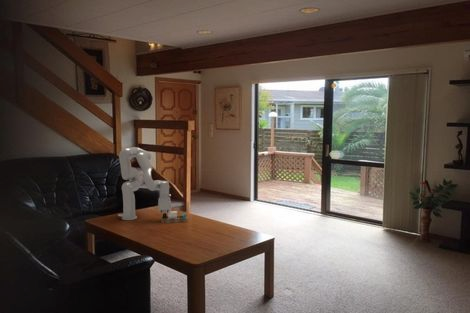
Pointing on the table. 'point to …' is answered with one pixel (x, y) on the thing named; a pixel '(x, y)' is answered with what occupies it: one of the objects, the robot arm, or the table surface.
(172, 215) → the cream block
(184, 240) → the table surface
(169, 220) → the channel board
